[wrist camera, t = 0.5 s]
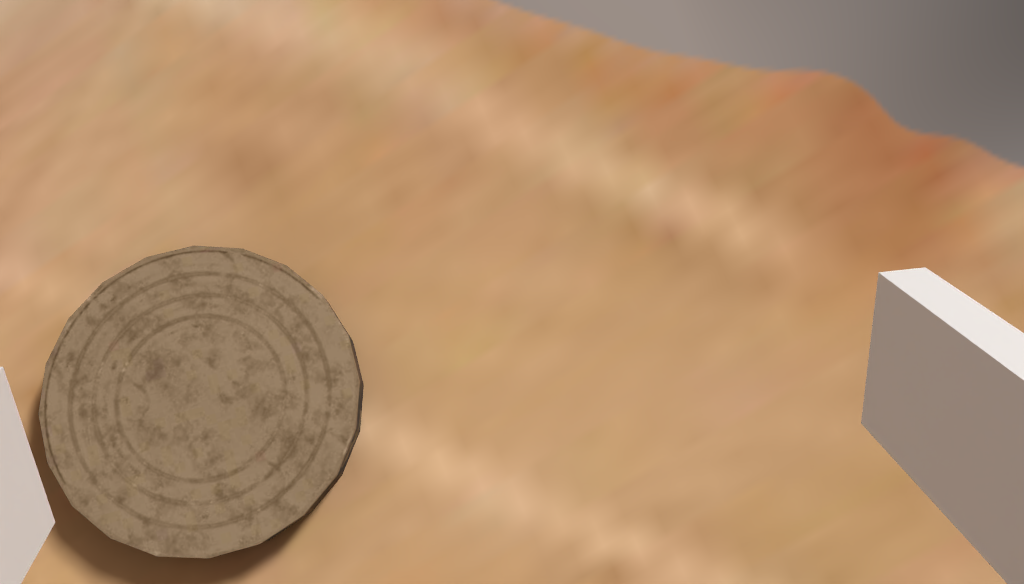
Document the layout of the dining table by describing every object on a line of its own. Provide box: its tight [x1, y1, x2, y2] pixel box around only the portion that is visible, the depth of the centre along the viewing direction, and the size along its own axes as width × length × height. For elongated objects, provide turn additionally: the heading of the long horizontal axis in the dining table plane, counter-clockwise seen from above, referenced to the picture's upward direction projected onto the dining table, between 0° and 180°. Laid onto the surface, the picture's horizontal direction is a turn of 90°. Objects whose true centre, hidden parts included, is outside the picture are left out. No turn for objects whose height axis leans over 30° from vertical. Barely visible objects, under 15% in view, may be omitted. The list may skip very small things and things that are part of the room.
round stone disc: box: [39, 246, 363, 558], centre depth 46 cm, size 16×16×3 cm
